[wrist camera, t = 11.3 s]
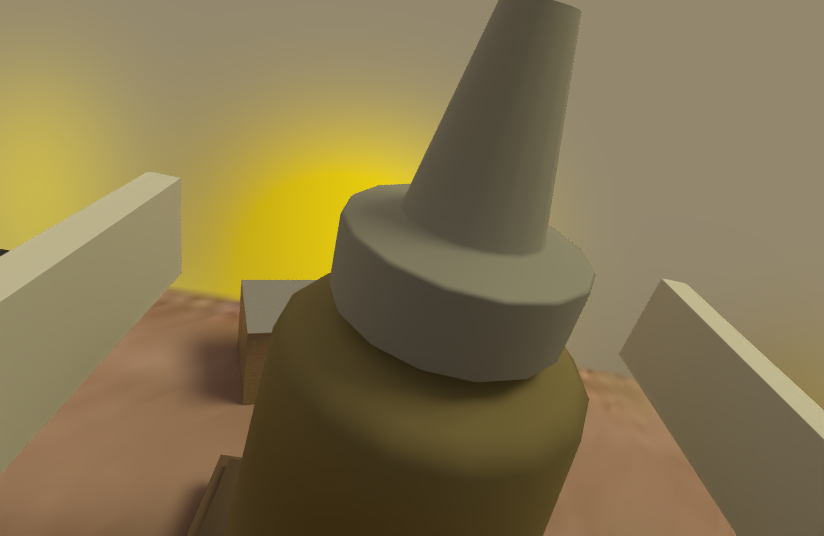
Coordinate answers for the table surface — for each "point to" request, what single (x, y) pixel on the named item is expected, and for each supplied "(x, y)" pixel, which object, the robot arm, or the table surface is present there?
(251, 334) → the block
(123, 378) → the table surface
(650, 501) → the table surface
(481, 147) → the squeeze bottle
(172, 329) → the table surface
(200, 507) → the stand
